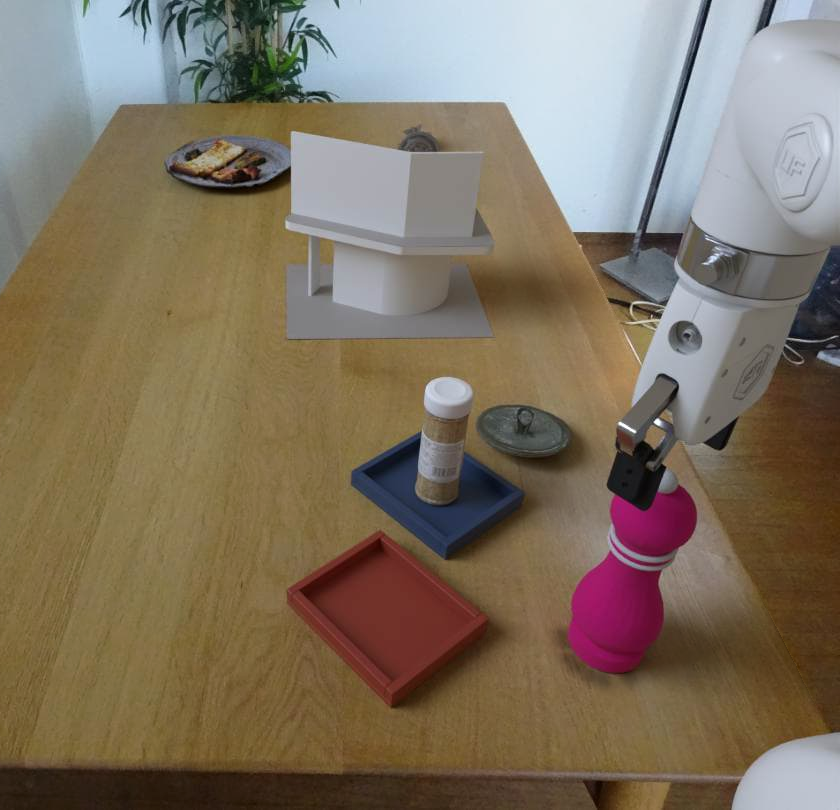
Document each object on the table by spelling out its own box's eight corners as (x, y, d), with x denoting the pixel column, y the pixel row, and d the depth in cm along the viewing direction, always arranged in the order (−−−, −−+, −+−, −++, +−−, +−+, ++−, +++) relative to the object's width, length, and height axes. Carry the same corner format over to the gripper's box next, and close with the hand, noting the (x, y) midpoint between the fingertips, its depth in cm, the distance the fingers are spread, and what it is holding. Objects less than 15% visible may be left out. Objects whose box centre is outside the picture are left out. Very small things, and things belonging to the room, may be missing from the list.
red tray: (485, 632, 71) (489, 618, 70) (390, 708, 65) (392, 694, 64) (379, 543, 79) (380, 529, 78) (286, 603, 74) (286, 588, 72)
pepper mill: (562, 669, 68) (618, 498, 56) (561, 602, 74) (612, 433, 61) (652, 687, 67) (731, 516, 54) (644, 617, 72) (714, 448, 60)
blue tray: (522, 506, 83) (525, 492, 82) (445, 560, 78) (447, 546, 76) (426, 440, 92) (428, 426, 90) (350, 484, 86) (351, 470, 85)
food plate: (243, 206, 142) (242, 187, 140) (141, 179, 152) (139, 161, 150) (315, 161, 159) (315, 143, 157) (219, 139, 169) (218, 123, 167)
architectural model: (466, 263, 125) (487, 110, 111) (494, 337, 109) (523, 168, 94) (286, 264, 125) (284, 111, 111) (286, 339, 108) (284, 170, 94)
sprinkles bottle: (460, 481, 85) (476, 378, 77) (455, 511, 82) (472, 407, 74) (417, 474, 86) (429, 371, 78) (410, 503, 83) (422, 399, 75)
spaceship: (394, 166, 136) (439, 149, 134) (389, 120, 166) (426, 105, 164) (408, 209, 140) (453, 193, 138) (401, 156, 169) (438, 142, 167)
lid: (503, 487, 88) (519, 461, 84) (455, 419, 93) (468, 391, 89) (577, 462, 91) (596, 435, 88) (528, 398, 97) (543, 370, 93)
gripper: (734, 333, 41) (645, 557, 51) (879, 234, 49) (776, 445, 60) (607, 275, 45) (548, 493, 56) (759, 195, 54) (683, 396, 65)
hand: (666, 468), depth 58 cm, fingers open, 9 cm apart
